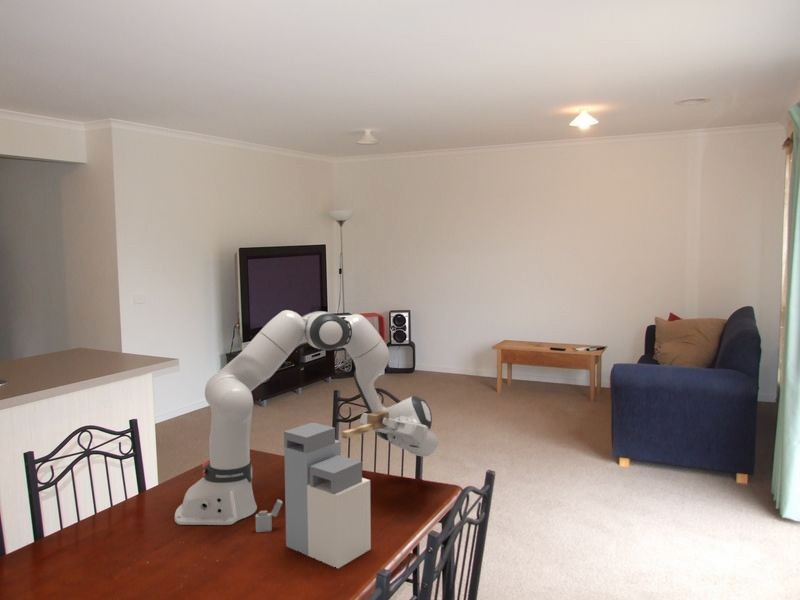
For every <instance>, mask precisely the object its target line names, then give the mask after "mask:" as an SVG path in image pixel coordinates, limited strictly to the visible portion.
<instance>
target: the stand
mask: <svg viewBox="0 0 800 600" xmlns="http://www.w3.org/2000/svg"><path fill="white" fill-rule="evenodd" d="M341 442H342V441H341V440H338V439H336V427H333V426H330V425H329V426H328V425H324V424H321V423H317V422H309V423H307V424H302V425H300V426H297V427H294V428H291V429H290V428H289V429H288V430H285V431H284V430H283V443H284V444H283V445H284V446H283V448H284V451H283V452H284V453H283V454H284V493H285V494H284V496H285V497H284V499H285V500H284V501H285V503H284V504H285V506H284V507H285V544H286V545H285V546H286V548H289V549H291V550H294V551H295V552H298V551H299V552H298V553H300V552H301V554H303V555H306V556H307V557H310V558H312V559H314V558H315V559H314V560H317V561H319V562H321V561H322V562H321V563H323V564H327V565H328V566H331V567H333V568H335V567H336V569H340V568H342V567H343V566H345V565H346V564H348V563H350V562H352V561H353V560H355V559H357V558H358V557H360V556H362V555H363V554H366V552H368V551H370V550H371V549H372V548H371V547H372V546H371V544H372V543H371V541H372V539H371V537H372V536H371V535H372V534H371V533H372V532H371V522H372V521H371V520H372V519H371V518H372V517H371V479H367V478H365V477H363V464H362V463H363V462H362V461H361V460H357V459H354V458H350V457H348V456H347V457H346V456H343V455H342V452H341V451H342V449H341V448H342V447H341V446H342V445H341V444H342V443H341Z"/></svg>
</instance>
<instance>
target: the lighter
mask: <svg viewBox="0 0 800 600" xmlns="http://www.w3.org/2000/svg"><path fill="white" fill-rule="evenodd" d="M282 505H283V500H281V499H278V498H277V499H276V502H275V503H274V506H273V508H272V510H271V512H268V510H260V511H259V512H258V513H256V514H255V533H256V534H257V532H258V533H265V532H272V530H273V528H272V527H273V525H272V522H273V521H272V519H273V518H272V517H277V516H278V514H279V511H280V510H281V507H282Z"/></svg>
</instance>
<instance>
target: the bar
mask: <svg viewBox="0 0 800 600" xmlns="http://www.w3.org/2000/svg"><path fill="white" fill-rule="evenodd" d="M381 417H384V418H387V419H389V412H386V411H382V410H380V411H377V412H374V413H370V414H369V413H367V424H365V425H359V426H356V427H352V428H350V429H346V430H343V431H342V432H341V436H342V437H341V438H342V439H350V438H353V437H356V436H358V435H362V434H365V433H369V432H371V431H372V432H373V431H374V430H378V429H381V428H384V427H387V426H386V425H383V424H381V423H380V420H381Z"/></svg>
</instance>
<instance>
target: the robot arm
mask: <svg viewBox="0 0 800 600" xmlns="http://www.w3.org/2000/svg"><path fill="white" fill-rule="evenodd" d="M303 343H306V344H308V345H310V346H311V347H313V348H315V349H318V350H322V351H333V350H336V349H338V348H340V347H343V348H344V349H345V350H346V351H347V353H348V354H349V356H350V357H351V359H352V361H353V364H354V366H355V370H354V372H353V379H354V383H355V386H356V388H357V390H358V393H359V395H360V397H361V400H362V401H363V403H364V405H365V408H366V410H367V412H368V413H366V412H362V413H361V416H360V418H359V419H360V420H359V426H362V425H365V424H367V414H370V413H374V412H377V411H380V410H382V411H386V412H389V419H387V418H384V417H381V420H380V423H381V424H383V425H386V426H387V427H384V428H381V429H378V430H373V431H375V433H376V435H377V436H378V437H379V438H380V439H383V440H385V441H387V442H389V443H390V444H391V445H394V446H395V447H397V448H399V449H402V450H405V451H406V452H408V453H410V454H413V455H415V456H419V457H428V456H431V455H432V454H433V453H435V451H436V450H437V448H438V445H439V441H438V440H439V439H438V437H437V434H436V433H435V432H434V431H433V429H432V421H433V415H432V414H433V413H432V411H431V408H430V406H429V405H428V403H427V402H426V401H425V400H424V399H422V398H421V397H419V396H416V395H412V396H410V397H408V398H405V399H404V400H400V402H397V403H395V404H393V405H391V406H388V407H385V406H384V405H383V404H382V401H381V399H380V397H379V395H378V392H377V390H376V388H375V386H374V385H375V384H374V383H375V381H376V380H377V379H378V378H379V377H380V376H381V375H382V373H383V372H384V371H385V369H386V368H387V366H388V363H389V361H390V350H389V348H388V346H387V344H386V342H385V341H384V339H383V337H382V336H381V335H380V333H379V331H377V329H376V328H375V327H374V326H373V324H371V322H370V321H369V320H368V319H367V318H366V317H365V316H364V315H362V314H360V313H354V314H350V315H348V316H346V317H344V318H342V317H340V316H338V315H337V314H333V313H331V312H328V311H322V310H320V311H317V310H315V311H311V312H308V313H306V314H303V315H300V314H299V313H298V312H296V311H293V310H289V309H285V310H282V311H280V312H279V313H278V314H277V315H275V316H274V317H272V318H271V319H270V320H269V321H268V322H267V323H266V324H265V325H264V326H263V327H262V329H260V330H259V332H258V333H257V334H255V336H254V337H253V338H252V339H251V341H250V342H249V343H247V346H246V347H245V348H243V350H242V351H241V352H239V353H238V354H237V356H235V357H234V358H233V359H231V361H229V362H228V363H227V364H226V365H225V366H223V368H222V369H220V370H219V371H218V372H217V373H216V374H214V375H213V376H210V378H209V379H208V380H207V383H206V385H205V388H204V397H205V400H206V403H208V405H209V407H210V413H211V422H210V432H209V433H210V434H209V437H208V439H209V440H208V441H209V447H208V448H209V461H208V460H205V461H204V462H203V464H202V477H201V478H200V479H199V480H197V482H195V483H194V484H193V485H192V486H190V487H189V488H188V489H187V490H186V492H185V494H184V498H183V501H182V503H181V504H180V505H179V506H178V507H177V508H176V510H175V513H174V522H175V523H176V524H177V525H183V526H185V525H188V526H189V525H191V526H194V525H195V526H196V525H197V526H198V525H200V526H201V525H208V526H212V525H213V526H225V525H226V526H230V525H233V524H235V523H237V522H238V521H240V520H242V519H246V518H247V517H249V516H251V515H253V514H255V513H256V511H257V509H258V506H257V503H256V500H255V497H254V492H253V491H254V490H253V485H252V480H253V465H252V460H251V456H250V455H251V454H250V453H251V451H250V450H251V449H250V434H251V433H250V432H251V424H252V418H253V417H252V416H253V415H252V414H253V409H254V398H253V394H252V391H253V390H255V389H256V388H257V387H258V386H259V385H261V384H262V383H263V382H265V381H267V380H269V379H270V378H271V377H272V376H273V375H274V374H275V373H276V372H277V371H278V369H279V368H280V367H281V366H282V365H283V363H284V362H285V361H286V360H287V359H288V358H289V356H290V355H291V354H292V353H293V352H294V350H295V349H296V348H297V347H299V346H301V345H302V344H303Z"/></svg>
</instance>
